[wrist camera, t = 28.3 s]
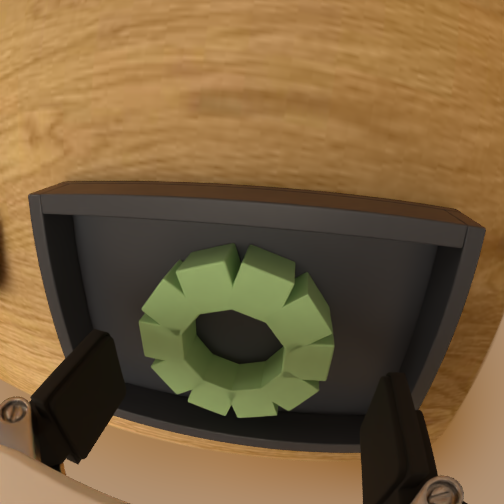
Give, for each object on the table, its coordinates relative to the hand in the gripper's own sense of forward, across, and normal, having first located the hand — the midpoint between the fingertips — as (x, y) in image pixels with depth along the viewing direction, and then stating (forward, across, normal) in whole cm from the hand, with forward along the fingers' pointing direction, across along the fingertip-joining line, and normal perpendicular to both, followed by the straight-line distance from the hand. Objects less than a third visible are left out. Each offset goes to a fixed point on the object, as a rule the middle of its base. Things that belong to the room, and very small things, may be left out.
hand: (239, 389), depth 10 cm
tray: (+4, +1, 0) cm, 4 cm away
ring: (+3, +1, 0) cm, 3 cm away
